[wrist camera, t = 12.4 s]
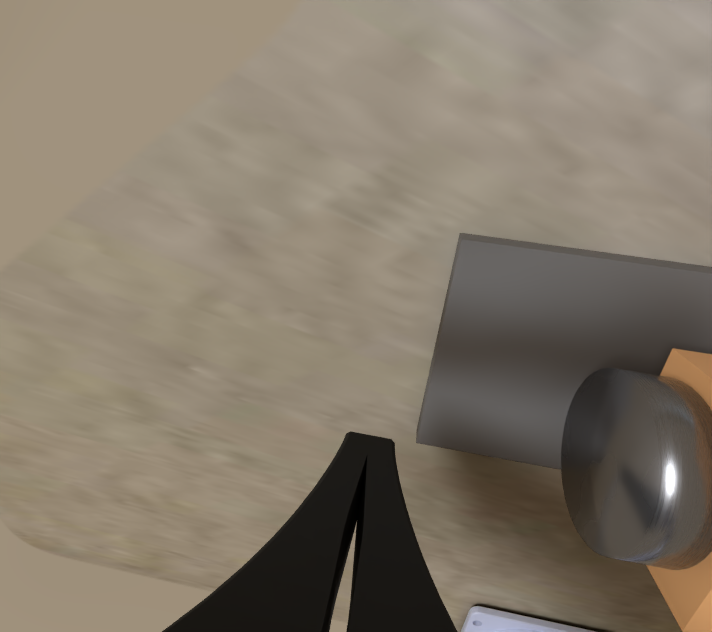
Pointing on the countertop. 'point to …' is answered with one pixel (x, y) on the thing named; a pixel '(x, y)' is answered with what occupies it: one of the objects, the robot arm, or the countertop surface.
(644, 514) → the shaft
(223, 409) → the countertop surface
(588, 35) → the countertop surface
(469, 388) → the bearing block
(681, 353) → the block
